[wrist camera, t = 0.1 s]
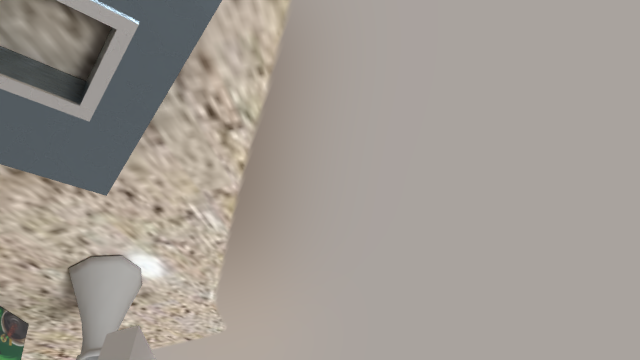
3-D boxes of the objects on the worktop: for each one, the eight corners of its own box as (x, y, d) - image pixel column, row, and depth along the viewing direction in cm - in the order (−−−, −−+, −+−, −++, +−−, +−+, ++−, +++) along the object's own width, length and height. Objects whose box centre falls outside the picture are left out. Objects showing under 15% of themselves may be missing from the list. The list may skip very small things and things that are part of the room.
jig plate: (-51, -245, 23) (-76, -241, 21) (238, -52, 32) (243, -35, 29) (-124, 95, 33) (-146, 122, 31) (110, 171, 42) (106, 197, 40)
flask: (55, 263, 48) (34, 356, 41) (127, 246, 49) (118, 335, 42) (89, 300, 53) (75, 389, 46) (153, 284, 54) (149, 370, 47)
